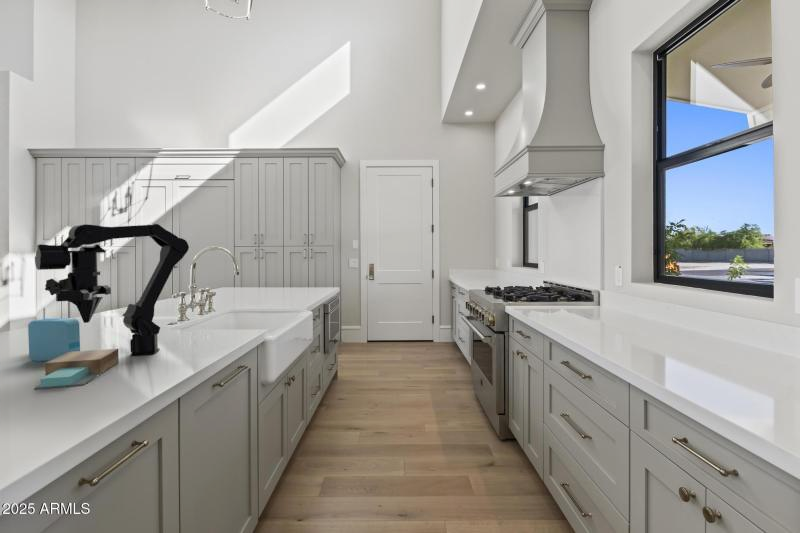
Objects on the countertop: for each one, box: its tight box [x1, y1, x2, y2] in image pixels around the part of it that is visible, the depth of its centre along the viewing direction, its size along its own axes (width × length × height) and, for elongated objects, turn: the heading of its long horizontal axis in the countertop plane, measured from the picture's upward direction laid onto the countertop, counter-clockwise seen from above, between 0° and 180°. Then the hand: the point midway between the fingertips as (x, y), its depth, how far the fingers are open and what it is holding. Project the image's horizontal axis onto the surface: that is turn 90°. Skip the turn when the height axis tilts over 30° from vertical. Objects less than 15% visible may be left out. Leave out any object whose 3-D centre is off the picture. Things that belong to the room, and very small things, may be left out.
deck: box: [44, 348, 120, 376], centre depth 109 cm, size 12×12×4 cm
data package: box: [27, 318, 81, 362], centre depth 120 cm, size 12×4×12 cm, turn 89°
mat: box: [33, 373, 101, 390], centre depth 100 cm, size 10×10×1 cm
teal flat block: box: [39, 366, 89, 387], centre depth 99 cm, size 6×9×2 cm, turn 16°
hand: (86, 322), depth 115 cm, fingers closed
